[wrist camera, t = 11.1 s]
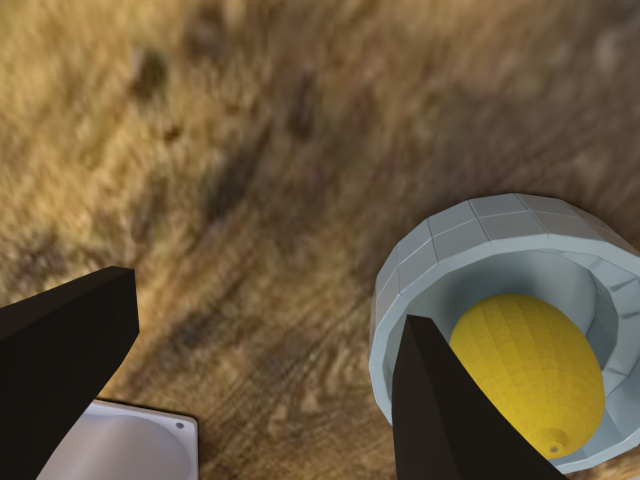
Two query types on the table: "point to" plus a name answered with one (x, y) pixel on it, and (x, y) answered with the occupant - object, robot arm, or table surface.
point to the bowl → (521, 278)
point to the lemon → (533, 370)
